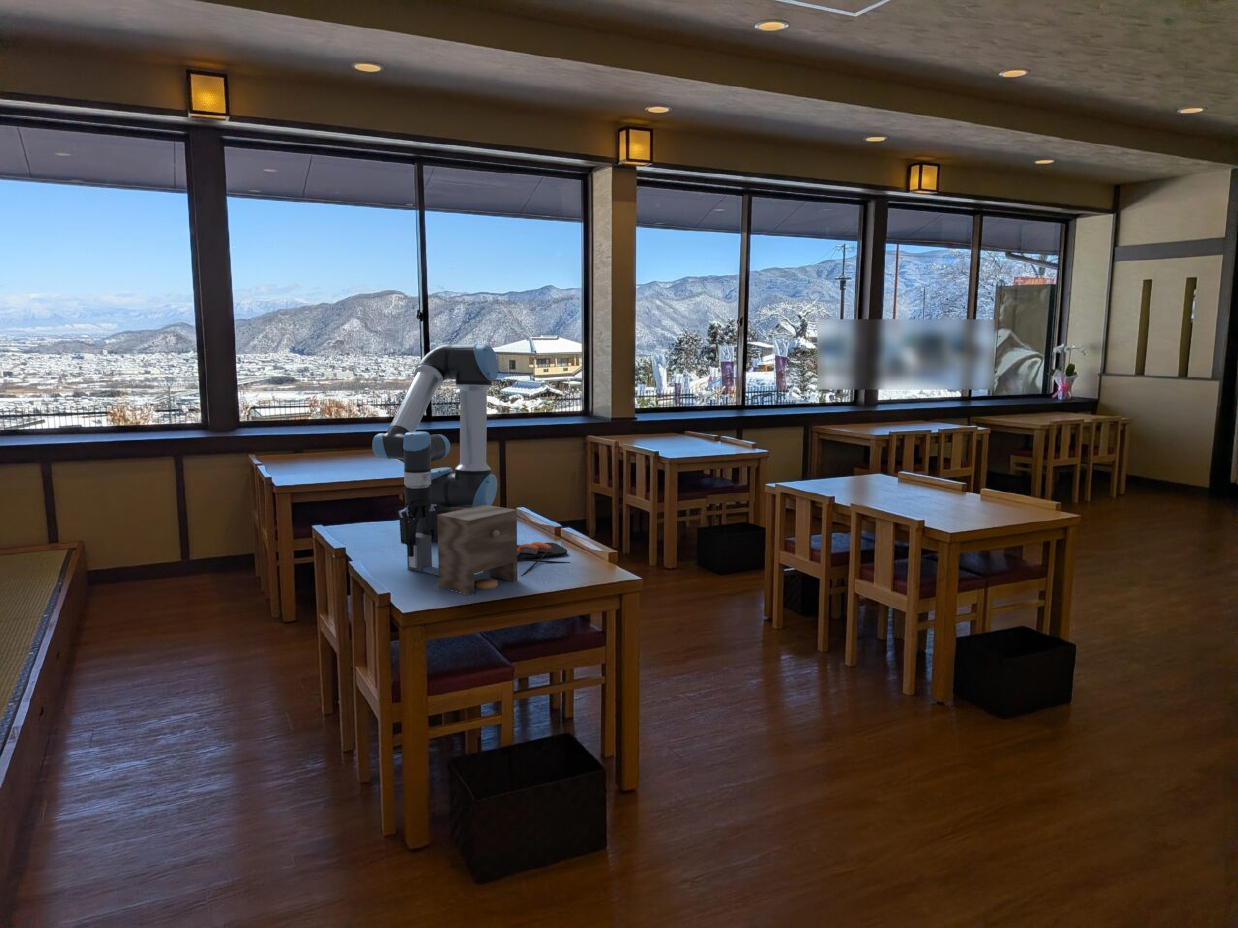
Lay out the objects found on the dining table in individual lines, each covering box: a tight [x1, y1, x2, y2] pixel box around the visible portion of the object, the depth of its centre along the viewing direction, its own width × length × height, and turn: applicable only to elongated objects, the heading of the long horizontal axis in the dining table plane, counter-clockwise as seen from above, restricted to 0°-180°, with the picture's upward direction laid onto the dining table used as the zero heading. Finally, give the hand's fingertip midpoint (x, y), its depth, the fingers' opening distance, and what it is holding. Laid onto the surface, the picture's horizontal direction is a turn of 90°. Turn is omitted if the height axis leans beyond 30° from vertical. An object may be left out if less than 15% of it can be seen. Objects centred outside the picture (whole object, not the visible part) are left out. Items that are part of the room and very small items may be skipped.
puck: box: [474, 578, 499, 590], centre depth 232 cm, size 6×6×1 cm
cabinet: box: [437, 504, 518, 596], centre depth 233 cm, size 13×18×20 cm
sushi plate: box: [517, 541, 571, 577], centre depth 258 cm, size 29×30×4 cm
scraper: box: [406, 533, 491, 585], centre depth 241 cm, size 27×9×10 cm, turn 53°
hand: (419, 565), depth 248 cm, fingers closed on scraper, 4 cm apart
